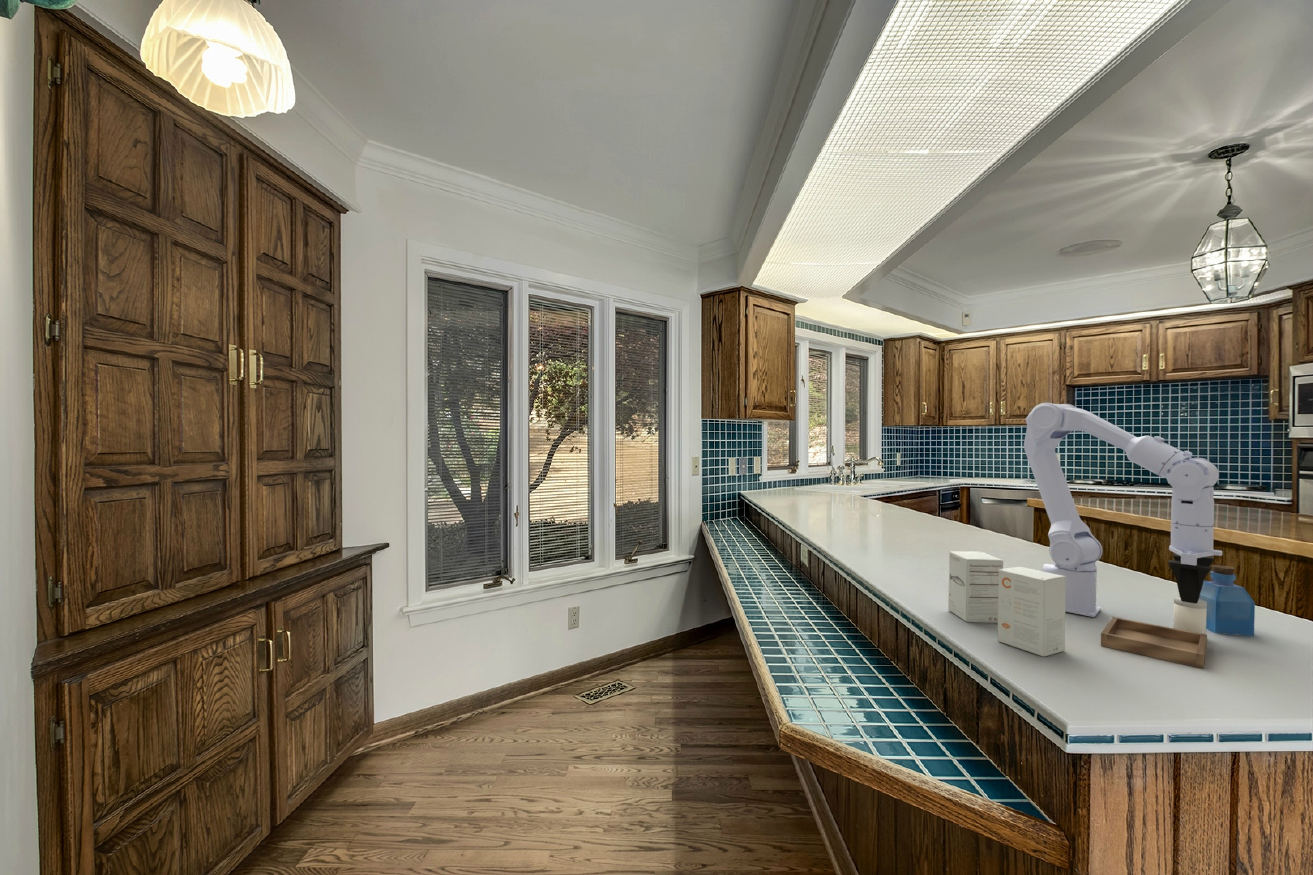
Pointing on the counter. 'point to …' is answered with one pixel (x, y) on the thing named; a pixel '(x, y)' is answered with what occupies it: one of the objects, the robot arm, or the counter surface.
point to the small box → (1031, 610)
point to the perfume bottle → (1227, 603)
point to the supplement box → (974, 586)
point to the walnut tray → (1155, 641)
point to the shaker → (1190, 615)
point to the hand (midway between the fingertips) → (1190, 597)
